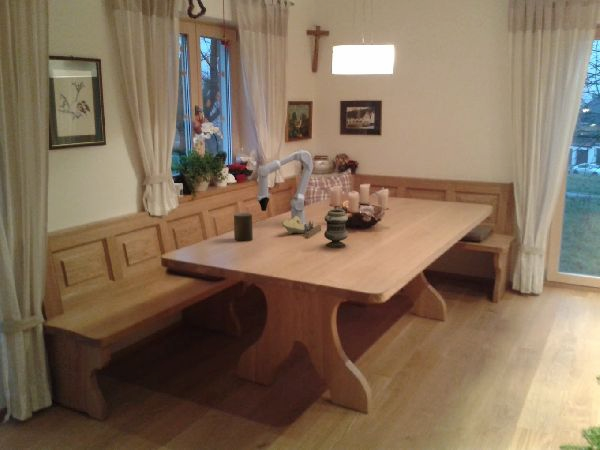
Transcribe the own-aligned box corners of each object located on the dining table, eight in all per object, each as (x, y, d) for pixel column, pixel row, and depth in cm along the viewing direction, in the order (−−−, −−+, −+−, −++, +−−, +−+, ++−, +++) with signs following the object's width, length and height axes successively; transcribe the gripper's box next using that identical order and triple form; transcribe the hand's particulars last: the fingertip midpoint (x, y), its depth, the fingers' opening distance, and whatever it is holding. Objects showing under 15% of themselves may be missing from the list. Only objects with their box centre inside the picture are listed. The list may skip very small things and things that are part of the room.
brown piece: (313, 229, 325) (313, 219, 323) (321, 230, 323) (321, 220, 322) (300, 237, 307) (300, 226, 305) (308, 238, 305) (308, 227, 304)
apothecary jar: (328, 249, 283) (328, 213, 279) (321, 243, 294) (321, 209, 290) (351, 247, 286) (351, 212, 282) (343, 241, 297) (343, 207, 293)
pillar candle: (249, 242, 298) (249, 213, 295) (231, 241, 300) (231, 213, 297) (254, 238, 307) (254, 210, 304) (237, 237, 309) (236, 209, 306)
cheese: (304, 233, 325) (283, 217, 323) (311, 225, 321) (290, 209, 319) (297, 247, 313) (275, 231, 311) (304, 239, 309) (283, 222, 307)
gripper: (262, 185, 335) (262, 208, 337) (251, 188, 321) (252, 212, 324) (273, 185, 332) (273, 208, 335) (262, 189, 319) (263, 213, 322)
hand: (263, 210), depth 329 cm, fingers closed
